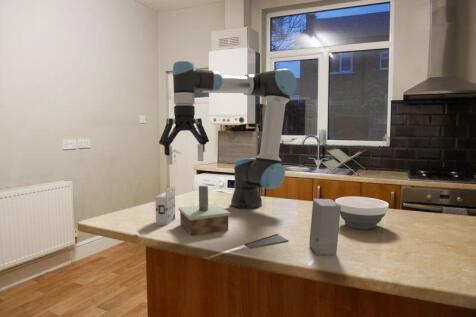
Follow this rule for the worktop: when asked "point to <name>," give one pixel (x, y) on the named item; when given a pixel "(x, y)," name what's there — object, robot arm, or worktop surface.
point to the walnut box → (204, 225)
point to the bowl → (362, 211)
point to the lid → (203, 208)
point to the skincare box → (324, 226)
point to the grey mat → (266, 241)
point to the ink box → (165, 207)
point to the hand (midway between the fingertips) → (185, 162)
